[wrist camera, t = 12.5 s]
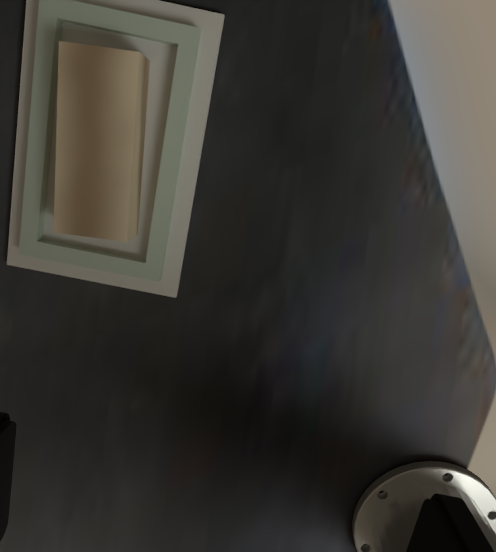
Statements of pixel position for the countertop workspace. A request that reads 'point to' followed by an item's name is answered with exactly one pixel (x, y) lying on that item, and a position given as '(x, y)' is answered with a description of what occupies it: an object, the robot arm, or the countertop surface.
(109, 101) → the birch tile
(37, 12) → the white flat rectangular tray
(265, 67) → the countertop surface
